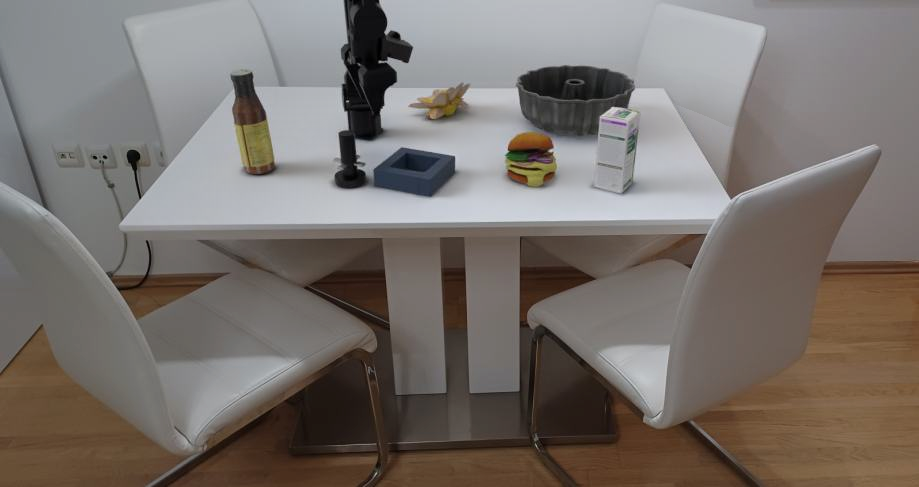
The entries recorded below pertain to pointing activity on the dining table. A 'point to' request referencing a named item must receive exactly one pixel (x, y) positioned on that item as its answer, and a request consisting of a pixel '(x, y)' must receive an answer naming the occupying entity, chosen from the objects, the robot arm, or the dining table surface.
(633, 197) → the dining table surface
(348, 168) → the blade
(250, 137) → the sauce bottle
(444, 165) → the blue square frame
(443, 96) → the decorative flower
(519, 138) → the cheeseburger
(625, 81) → the bundt pan
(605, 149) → the syrup box
